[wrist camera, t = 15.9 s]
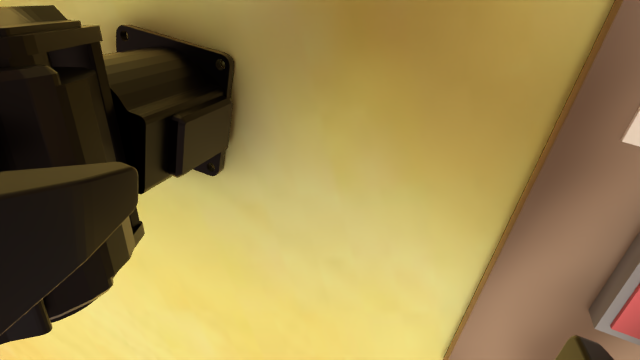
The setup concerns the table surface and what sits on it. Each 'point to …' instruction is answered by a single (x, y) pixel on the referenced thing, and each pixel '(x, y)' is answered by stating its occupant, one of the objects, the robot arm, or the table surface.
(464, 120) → the table surface
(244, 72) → the table surface
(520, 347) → the board
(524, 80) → the table surface
